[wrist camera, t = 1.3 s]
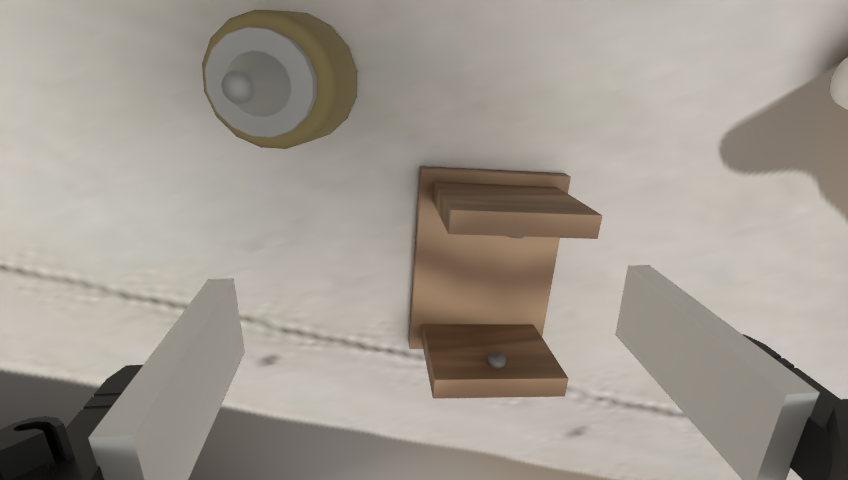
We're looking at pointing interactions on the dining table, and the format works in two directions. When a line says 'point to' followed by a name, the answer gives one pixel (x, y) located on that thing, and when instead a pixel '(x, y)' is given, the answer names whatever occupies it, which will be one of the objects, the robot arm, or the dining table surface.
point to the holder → (490, 278)
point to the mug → (840, 84)
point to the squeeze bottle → (279, 78)
